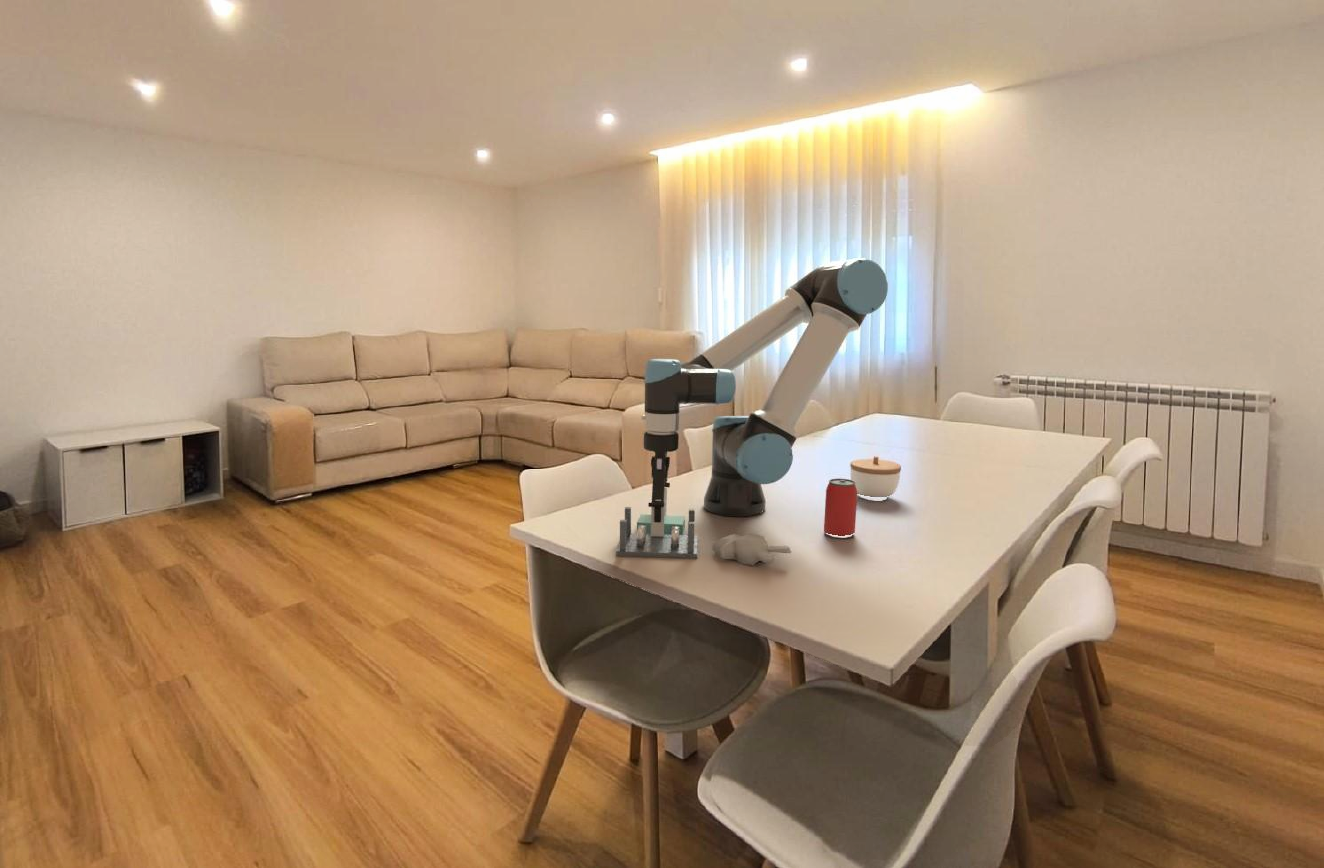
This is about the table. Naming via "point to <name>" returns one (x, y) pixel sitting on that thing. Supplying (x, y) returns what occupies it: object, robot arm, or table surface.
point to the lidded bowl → (875, 476)
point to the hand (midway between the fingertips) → (658, 526)
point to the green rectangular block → (668, 523)
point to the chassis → (656, 541)
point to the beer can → (840, 507)
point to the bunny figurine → (747, 548)
